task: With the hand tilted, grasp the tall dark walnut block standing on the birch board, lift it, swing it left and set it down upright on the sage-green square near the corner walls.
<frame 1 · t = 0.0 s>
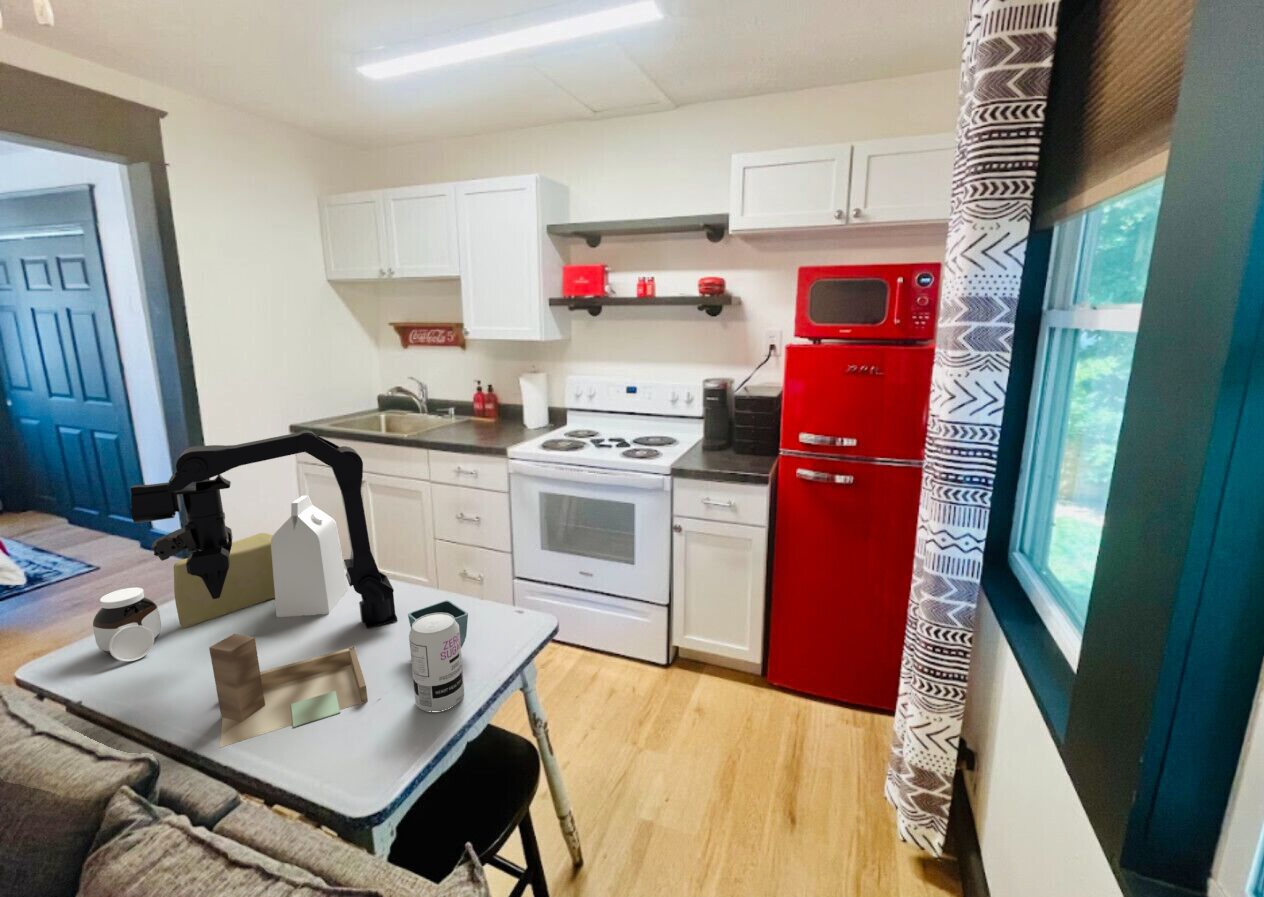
hand: (217, 589, 116), 15 cm above the table, tool pointing down, fingers open, 9 cm apart
spread jar: (135, 650, 122), on the table
milk: (314, 604, 141), on the table
cheese: (235, 608, 140), on the table
supplement can: (440, 700, 105), on the table
flower pot: (441, 654, 119), on the table
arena: (295, 701, 105), on the table
walnut block: (243, 711, 101), resting on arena
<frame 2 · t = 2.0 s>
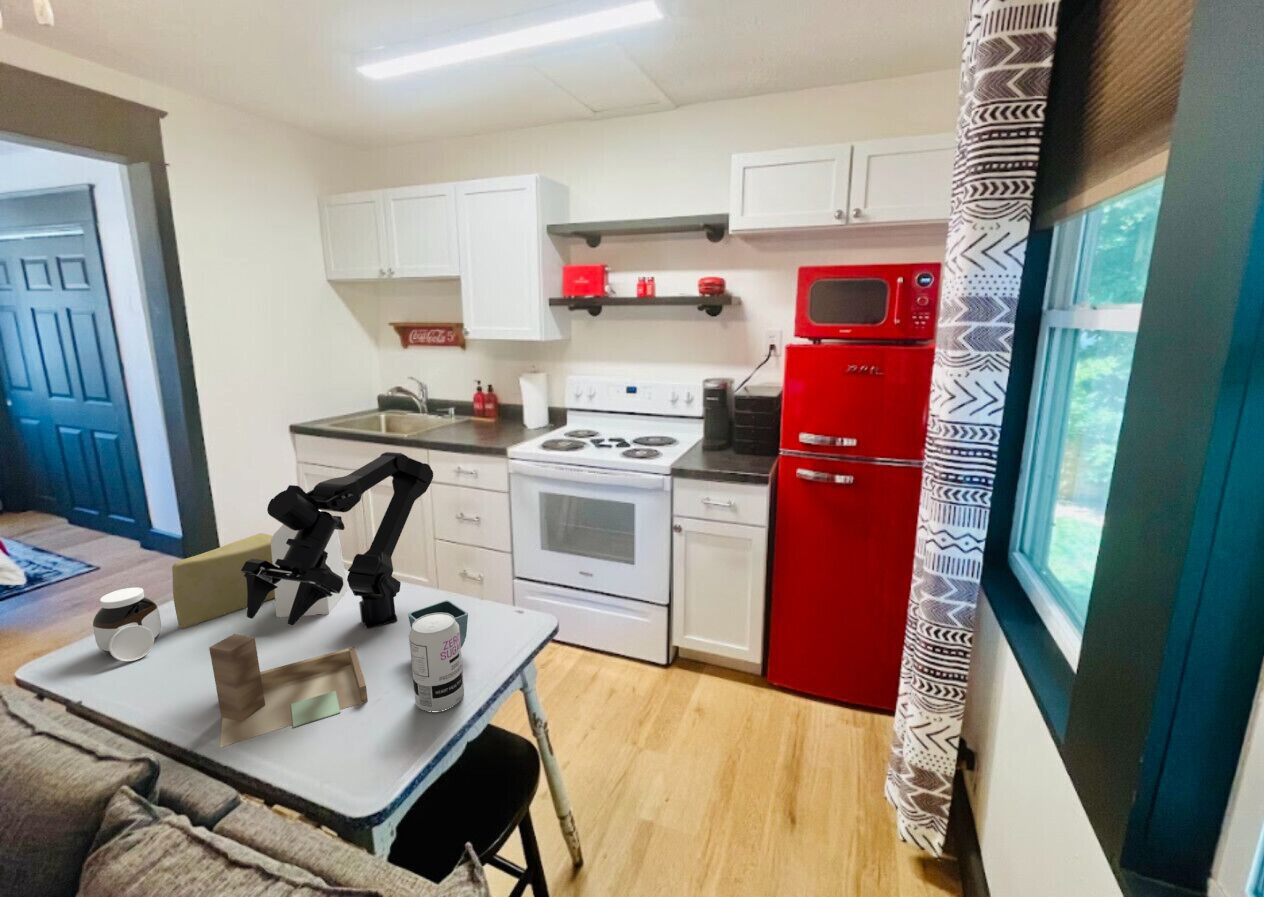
hand: (269, 621, 105), 13 cm above the table, tool tilted 45°, fingers open, 9 cm apart
nothing on the table moved.
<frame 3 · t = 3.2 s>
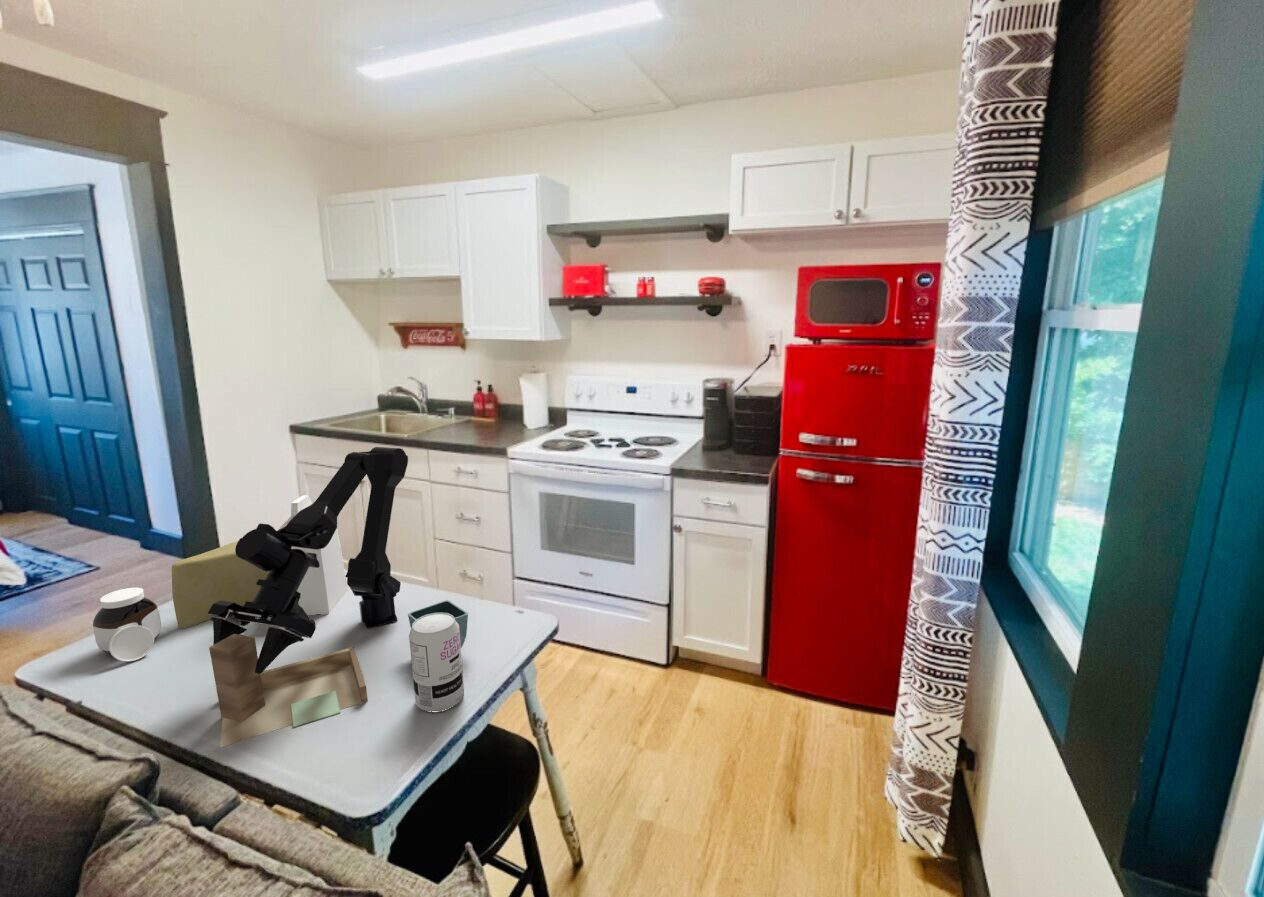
hand: (236, 669, 100), 9 cm above the table, tool tilted 45°, fingers open, 9 cm apart
nothing on the table moved.
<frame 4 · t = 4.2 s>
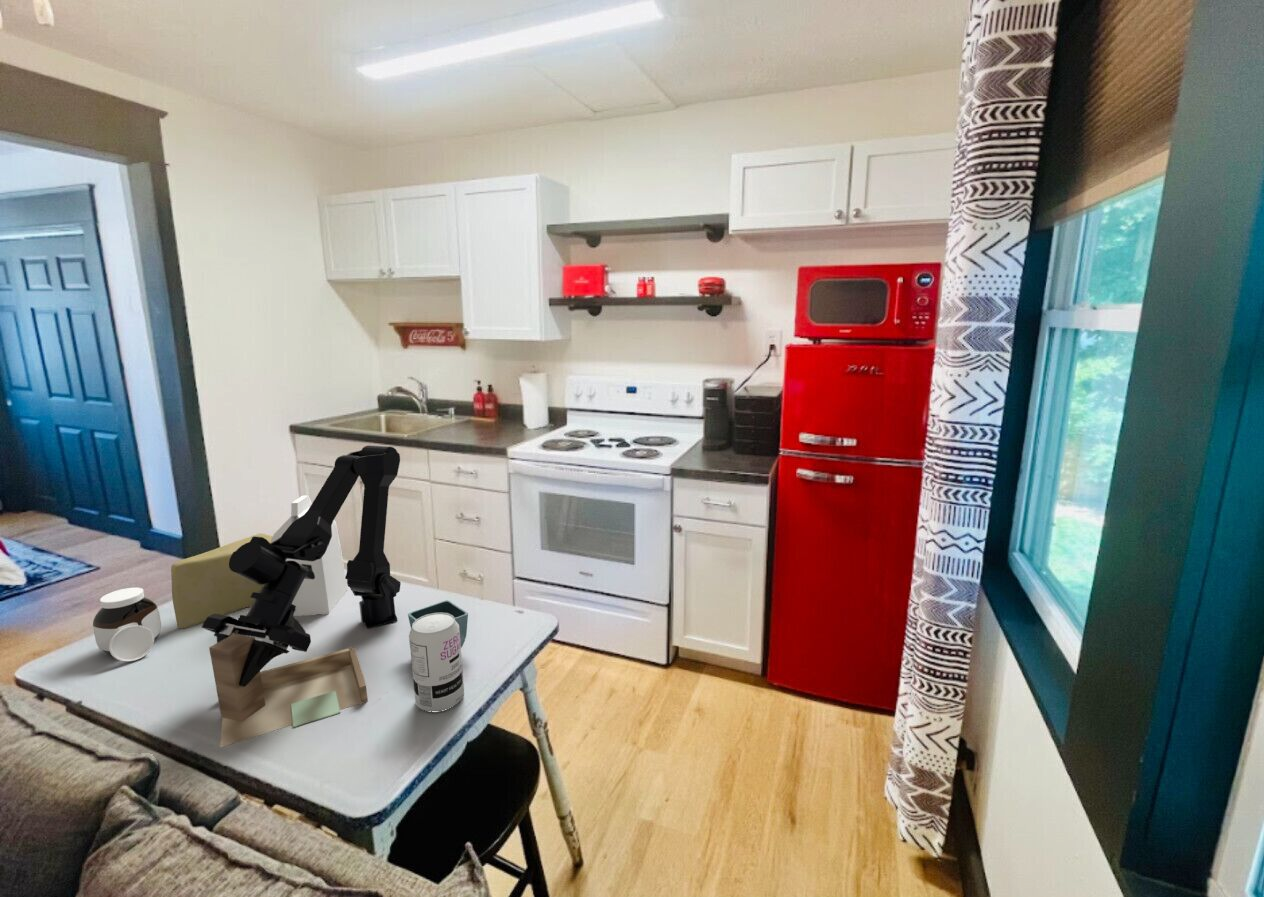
hand: (230, 683, 99), 7 cm above the table, tool tilted 45°, fingers closed on walnut block, 4 cm apart
walnut block: (243, 711, 101), resting on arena, touching gripper
everything else where it was.
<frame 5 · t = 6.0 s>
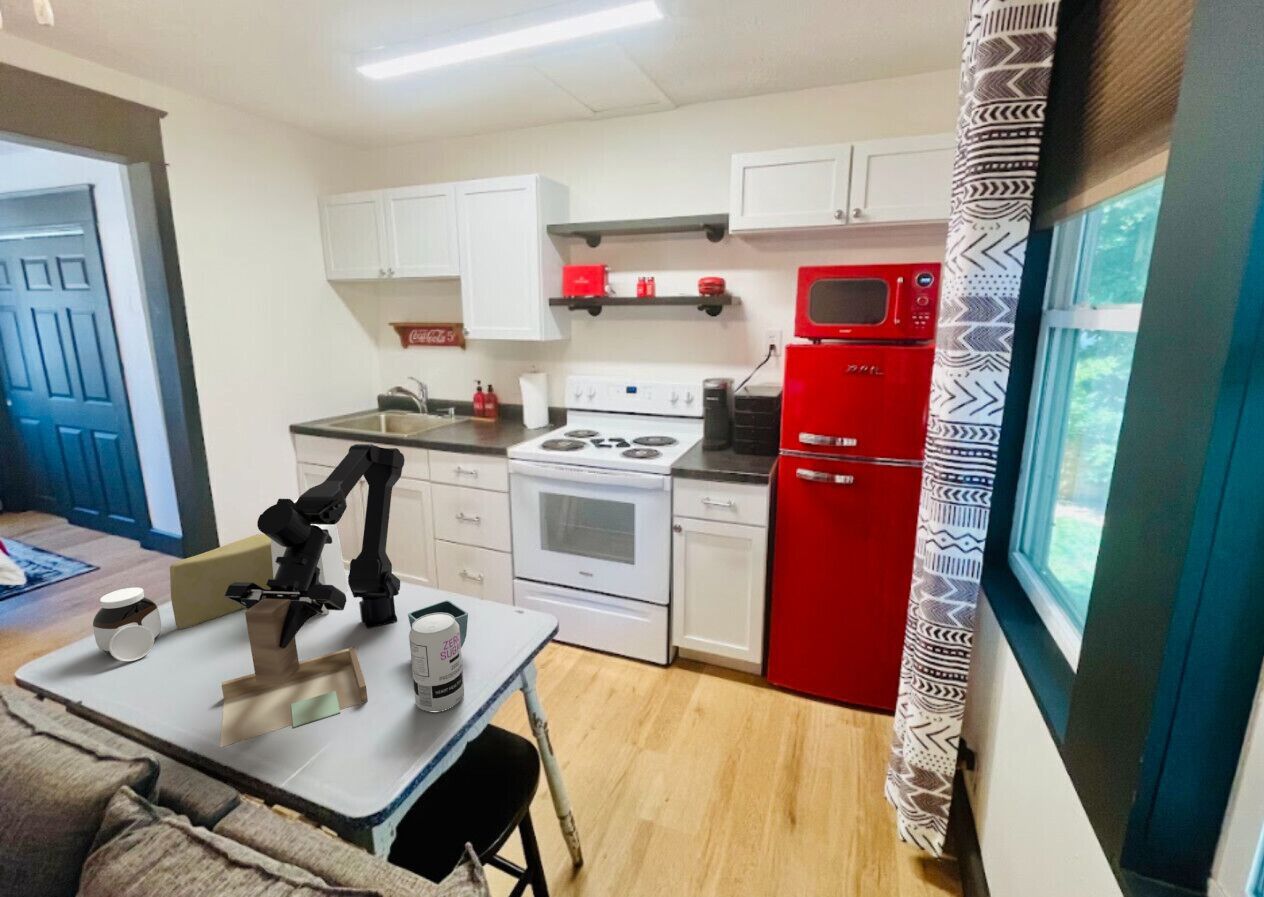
hand: (268, 647, 97), 13 cm above the table, tool tilted 45°, fingers closed on walnut block, 4 cm apart
walnut block: (278, 676, 100), point 7 cm above the table, touching gripper
everything else where it was.
when the fingers open (7 cm above the table, at t = 7.9 s): walnut block stays where it is, resting on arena.
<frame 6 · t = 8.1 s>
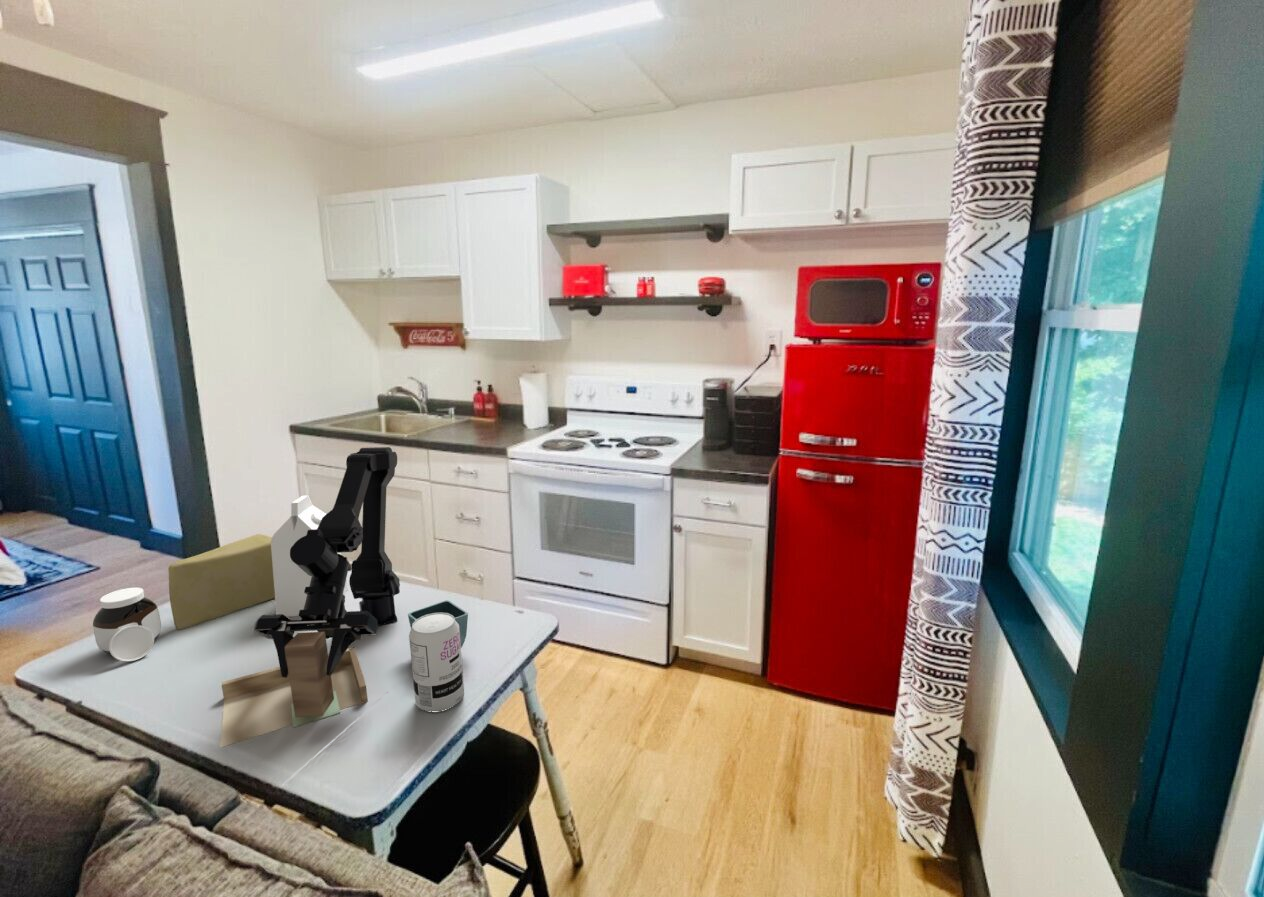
hand: (306, 676, 99), 8 cm above the table, tool tilted 45°, fingers open, 7 cm apart
walnut block: (315, 707, 102), point 1 cm above the table, touching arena
everything else where it was.
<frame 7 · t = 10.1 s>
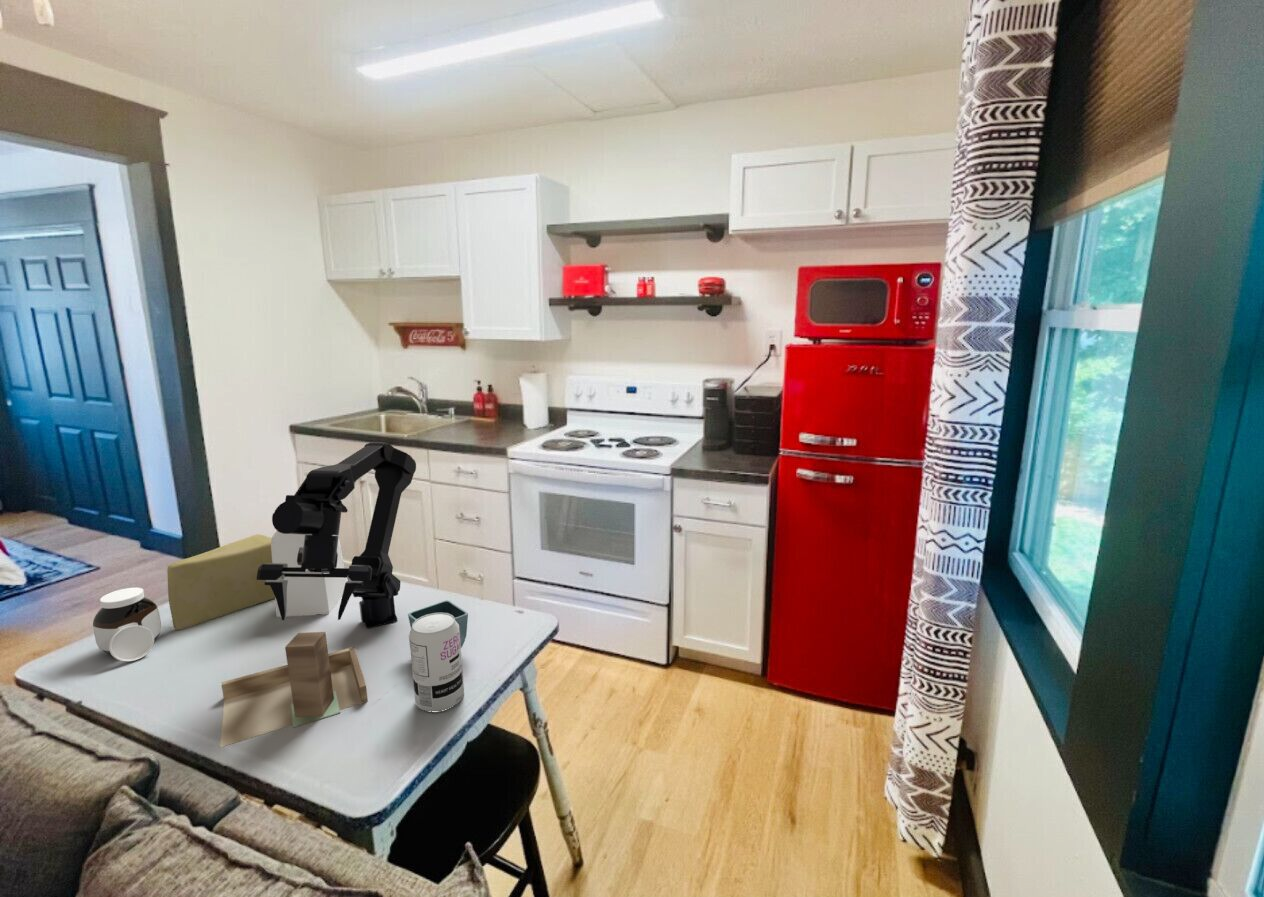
hand: (311, 619, 110), 11 cm above the table, tool tilted 20°, fingers open, 9 cm apart
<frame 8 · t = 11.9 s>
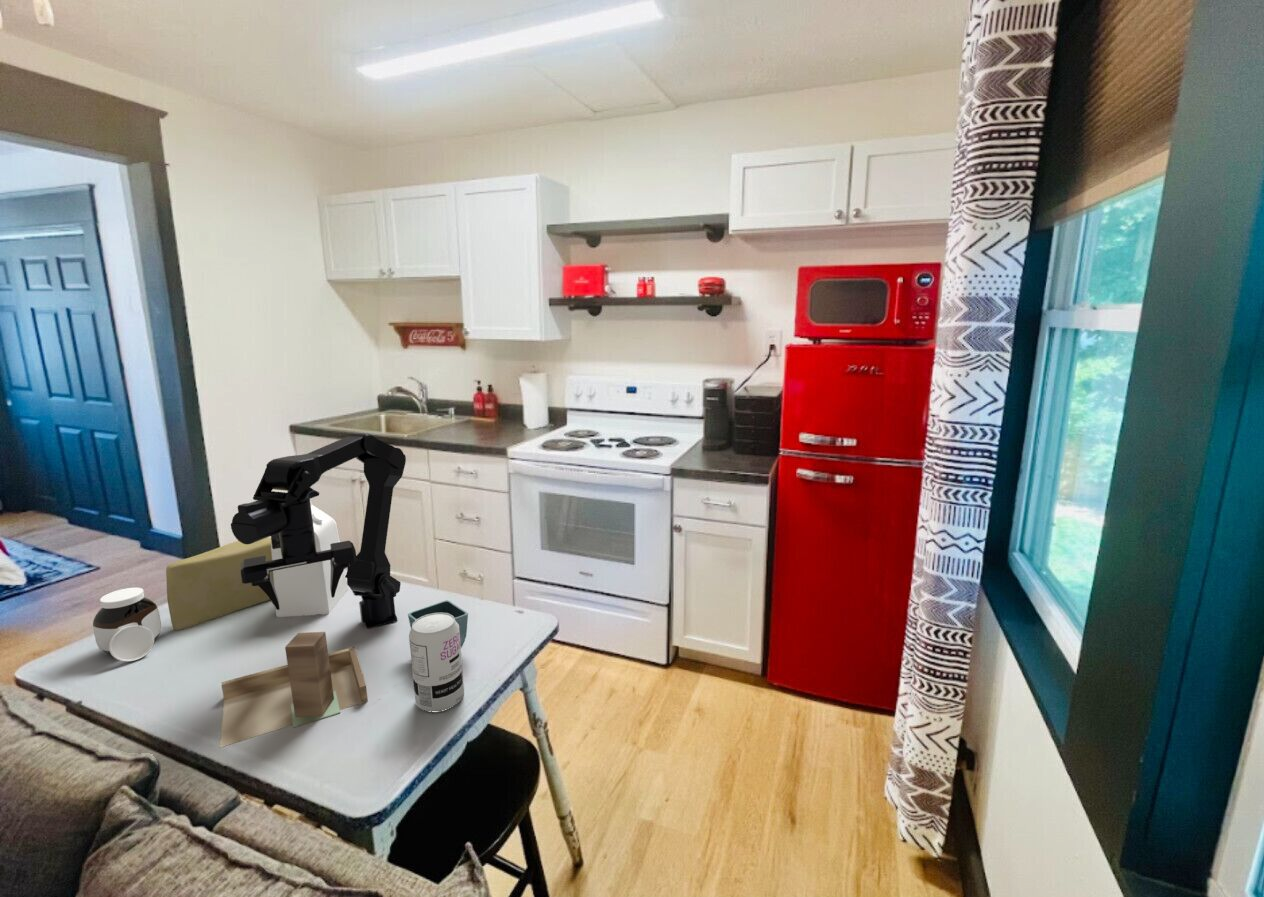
hand: (306, 602, 113), 13 cm above the table, tool pointing down, fingers open, 9 cm apart
at the end: walnut block 0.0 cm from the target spot, point 0.6 cm above the table; walnut block tilted 0°; walnut block moved 12.1 cm from its start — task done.
